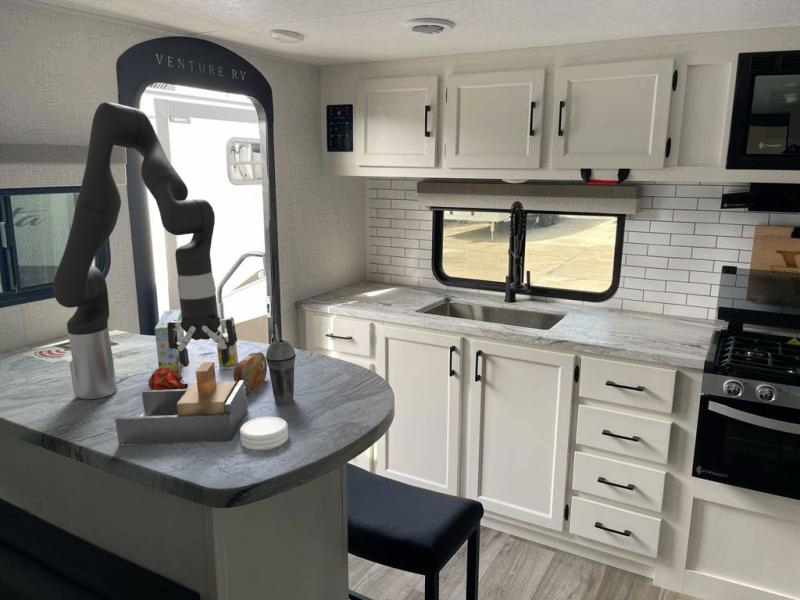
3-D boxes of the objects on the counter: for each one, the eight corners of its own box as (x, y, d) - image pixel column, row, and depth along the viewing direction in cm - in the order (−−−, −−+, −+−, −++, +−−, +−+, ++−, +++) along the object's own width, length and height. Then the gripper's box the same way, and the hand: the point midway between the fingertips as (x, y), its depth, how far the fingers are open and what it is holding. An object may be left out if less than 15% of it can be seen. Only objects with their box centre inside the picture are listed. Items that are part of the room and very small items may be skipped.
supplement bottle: (239, 367, 177) (236, 335, 175) (220, 371, 175) (217, 338, 172) (236, 362, 182) (233, 331, 179) (218, 365, 180) (214, 333, 177)
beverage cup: (304, 396, 155) (298, 319, 150) (290, 408, 148) (284, 328, 143) (278, 393, 157) (272, 318, 152) (263, 404, 150) (256, 326, 146)
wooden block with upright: (180, 433, 133) (173, 377, 130) (196, 410, 145) (190, 358, 142) (226, 431, 133) (221, 375, 130) (239, 409, 145) (233, 356, 142)
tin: (244, 398, 154) (241, 367, 152) (233, 398, 155) (230, 366, 153) (268, 377, 169) (266, 348, 167) (258, 376, 169) (255, 347, 167)
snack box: (180, 379, 169) (174, 326, 166) (159, 381, 168) (152, 328, 165) (187, 355, 189) (182, 308, 186) (168, 357, 188) (162, 309, 185)
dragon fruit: (162, 395, 162) (180, 414, 154) (133, 385, 156) (151, 405, 148) (179, 367, 163) (198, 385, 155) (151, 356, 157) (170, 374, 149)
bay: (118, 445, 131) (113, 410, 129) (146, 414, 147) (142, 382, 145) (232, 440, 132) (228, 406, 130) (247, 410, 147) (244, 378, 145)
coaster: (236, 452, 127) (235, 437, 126) (245, 431, 137) (244, 416, 136) (285, 450, 127) (284, 434, 127) (291, 429, 137) (290, 414, 136)
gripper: (158, 299, 128) (167, 372, 132) (226, 296, 129) (234, 369, 133) (169, 291, 136) (178, 360, 140) (234, 288, 136) (241, 357, 140)
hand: (205, 364), depth 136 cm, fingers open, 8 cm apart
